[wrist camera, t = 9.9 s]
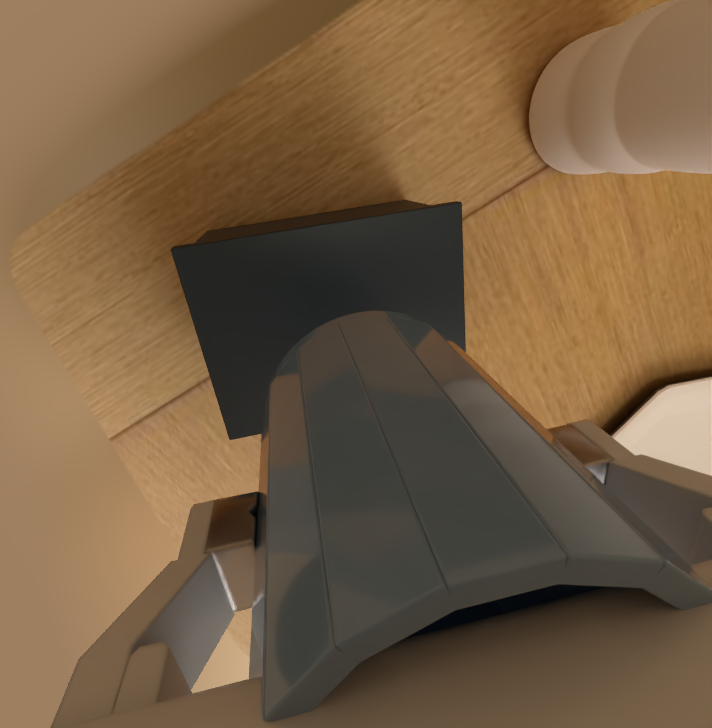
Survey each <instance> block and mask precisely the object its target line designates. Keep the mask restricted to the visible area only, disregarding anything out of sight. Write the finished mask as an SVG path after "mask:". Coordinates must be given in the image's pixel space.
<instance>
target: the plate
mask: <svg viewBox="0 0 712 728" xmlns="http://www.w3.org/2000/svg"><path fill="white" fill-rule="evenodd" d="M610 436H611V437H612V438H614V439H615V440H616V441H618V442H619V443H620V444H621V445H623V446H624V447H625V448H627V449H628V450H629V451H630V452H632V453H633V454H634V455H635V456H636V455H641V454H642V455H645V456H649V457H652V458H655V459H658V460H662V461H665V462H668V463H671V464H675V465H678V466H681V467H684V468H688V469H691V470H694V471H697V472H701V473H704V474H707V475H710V476H712V376H707V377H702V378H697V379H692V380H686V381H681V382H676V383H671V384H666V385H664V386H662V387H661V388H659V389H657V390H655V391H654V392H653V393H652V394H651V395H650V396H649V397H648V398H647V399H646V400H645V401H644V402H643V403H642V404H641V405H640V406H639V407H638V408H637V409H635V410H634V411H633V412H632V413H631V414H630V415H629V416H628V417H627V418H626V419H625V420H624V421H623V422H622V423H621V424H620V425H619V426H618V427H617V428H616V429H615V430H614V431H613V432H612V433H611V434H610Z"/></svg>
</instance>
